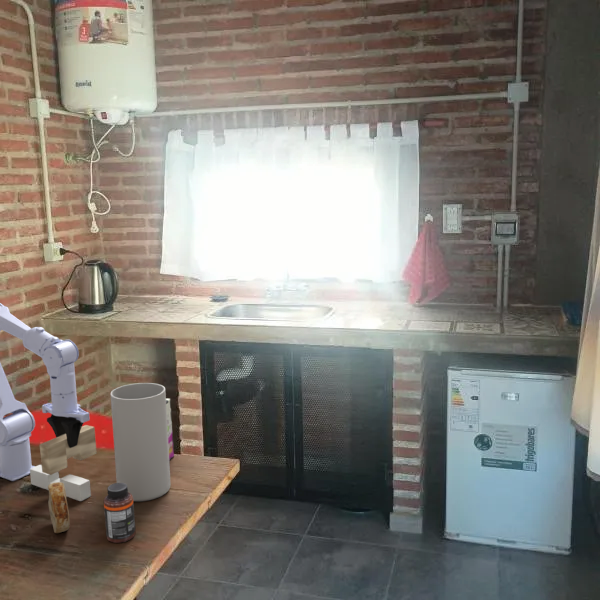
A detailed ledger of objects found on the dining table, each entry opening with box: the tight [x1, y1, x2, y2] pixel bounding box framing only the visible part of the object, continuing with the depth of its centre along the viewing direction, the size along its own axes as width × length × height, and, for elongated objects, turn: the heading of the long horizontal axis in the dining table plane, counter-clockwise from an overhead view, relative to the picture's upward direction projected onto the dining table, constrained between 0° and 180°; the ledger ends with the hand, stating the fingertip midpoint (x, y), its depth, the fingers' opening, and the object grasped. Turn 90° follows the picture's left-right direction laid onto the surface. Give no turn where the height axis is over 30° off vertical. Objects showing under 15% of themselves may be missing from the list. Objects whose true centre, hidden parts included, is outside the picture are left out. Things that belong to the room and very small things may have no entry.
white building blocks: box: [29, 464, 92, 502], centre depth 161 cm, size 18×3×4 cm, turn 58°
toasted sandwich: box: [47, 482, 71, 534], centre depth 143 cm, size 10×4×10 cm, turn 25°
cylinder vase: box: [110, 382, 172, 502], centre depth 159 cm, size 12×12×25 cm
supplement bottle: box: [103, 482, 136, 544], centre depth 139 cm, size 6×6×11 cm
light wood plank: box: [39, 424, 98, 475], centre depth 163 cm, size 3×14×7 cm, turn 149°
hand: (68, 444), depth 163 cm, fingers closed on light wood plank, 3 cm apart
